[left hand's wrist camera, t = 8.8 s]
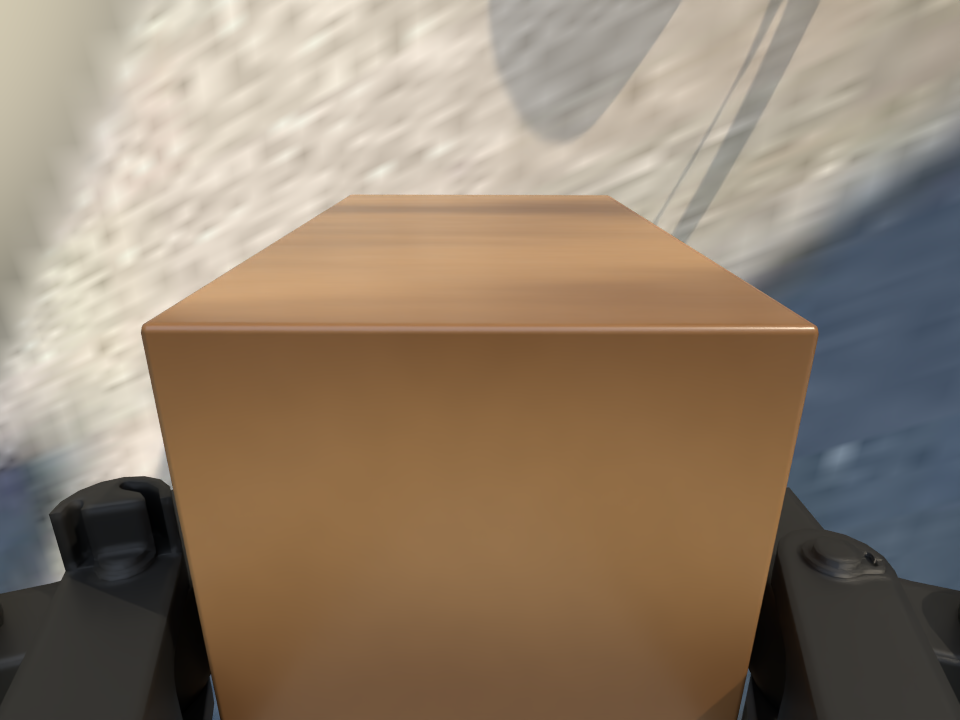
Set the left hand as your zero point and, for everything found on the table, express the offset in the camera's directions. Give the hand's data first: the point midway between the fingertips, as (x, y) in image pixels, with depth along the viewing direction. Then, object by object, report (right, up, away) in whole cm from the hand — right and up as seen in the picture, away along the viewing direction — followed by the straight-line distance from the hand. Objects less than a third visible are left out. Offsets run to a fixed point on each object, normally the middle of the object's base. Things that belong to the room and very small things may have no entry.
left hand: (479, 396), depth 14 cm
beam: (0, -33, +14) cm, 36 cm away
